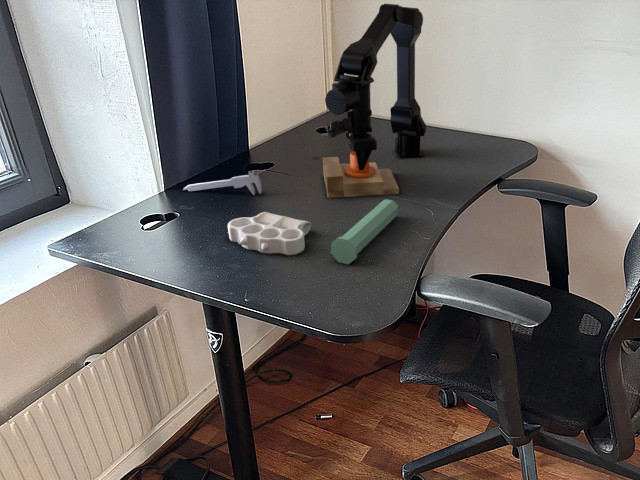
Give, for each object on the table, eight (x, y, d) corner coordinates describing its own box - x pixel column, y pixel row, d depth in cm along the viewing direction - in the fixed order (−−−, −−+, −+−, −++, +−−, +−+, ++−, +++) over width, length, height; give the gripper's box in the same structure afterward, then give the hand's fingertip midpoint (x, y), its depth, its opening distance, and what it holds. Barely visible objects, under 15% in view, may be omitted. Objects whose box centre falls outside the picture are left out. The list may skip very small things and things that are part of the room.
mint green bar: (385, 190, 141) (335, 232, 122) (406, 203, 141) (360, 247, 121) (376, 210, 145) (326, 254, 125) (397, 223, 144) (350, 269, 125)
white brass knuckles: (324, 234, 135) (287, 263, 124) (256, 218, 142) (215, 245, 130) (323, 220, 134) (286, 248, 122) (254, 205, 140) (213, 231, 128)
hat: (373, 165, 162) (372, 146, 159) (377, 176, 155) (377, 157, 152) (342, 167, 160) (342, 148, 158) (346, 178, 154) (345, 158, 151)
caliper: (262, 193, 154) (260, 170, 151) (261, 195, 153) (258, 171, 150) (184, 189, 156) (180, 165, 152) (182, 191, 155) (178, 167, 151)
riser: (390, 173, 167) (390, 154, 164) (399, 193, 155) (399, 173, 152) (323, 177, 164) (322, 157, 161) (327, 197, 152) (326, 176, 149)
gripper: (322, 95, 155) (325, 155, 163) (328, 117, 139) (331, 181, 148) (366, 94, 157) (367, 153, 165) (376, 115, 141) (377, 179, 150)
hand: (360, 166), depth 157 cm, fingers closed on hat, 5 cm apart
